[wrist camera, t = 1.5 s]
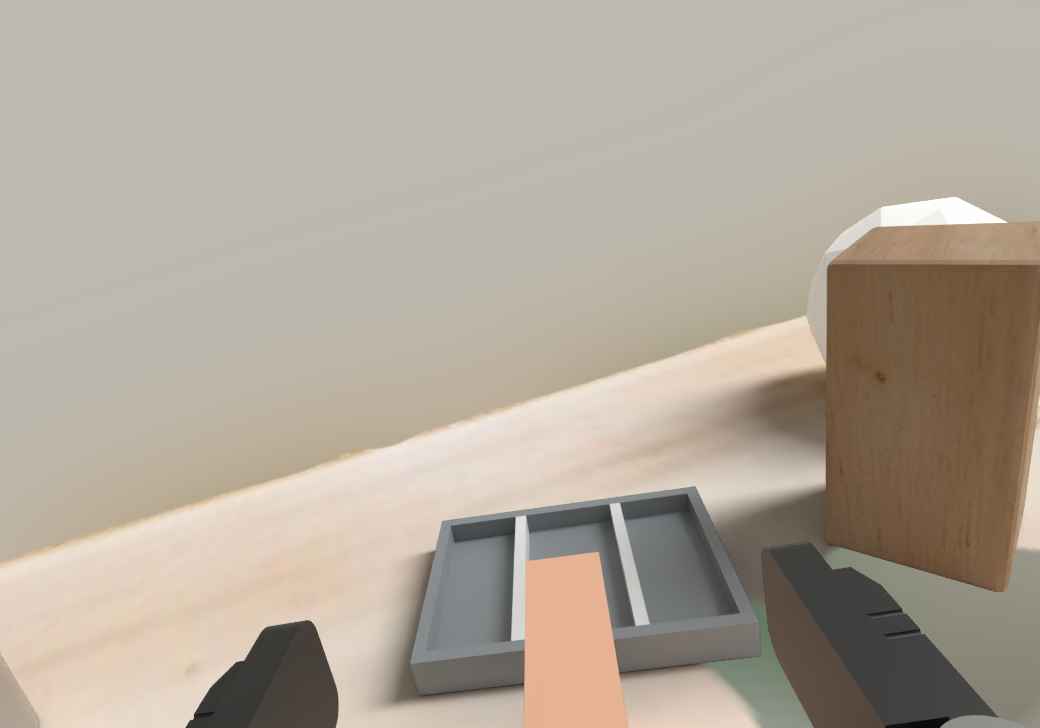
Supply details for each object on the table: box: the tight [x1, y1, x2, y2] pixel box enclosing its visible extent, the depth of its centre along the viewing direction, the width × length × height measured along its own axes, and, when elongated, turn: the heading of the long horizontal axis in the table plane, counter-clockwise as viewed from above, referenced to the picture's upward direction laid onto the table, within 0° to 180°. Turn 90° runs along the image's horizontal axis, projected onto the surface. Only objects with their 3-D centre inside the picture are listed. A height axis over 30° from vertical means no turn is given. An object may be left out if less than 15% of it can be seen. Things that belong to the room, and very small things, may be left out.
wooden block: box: [825, 221, 1040, 592], centre depth 39 cm, size 10×10×20 cm
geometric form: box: [806, 197, 1040, 413], centre depth 56 cm, size 18×19×23 cm
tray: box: [410, 487, 761, 696], centre depth 41 cm, size 14×20×2 cm
